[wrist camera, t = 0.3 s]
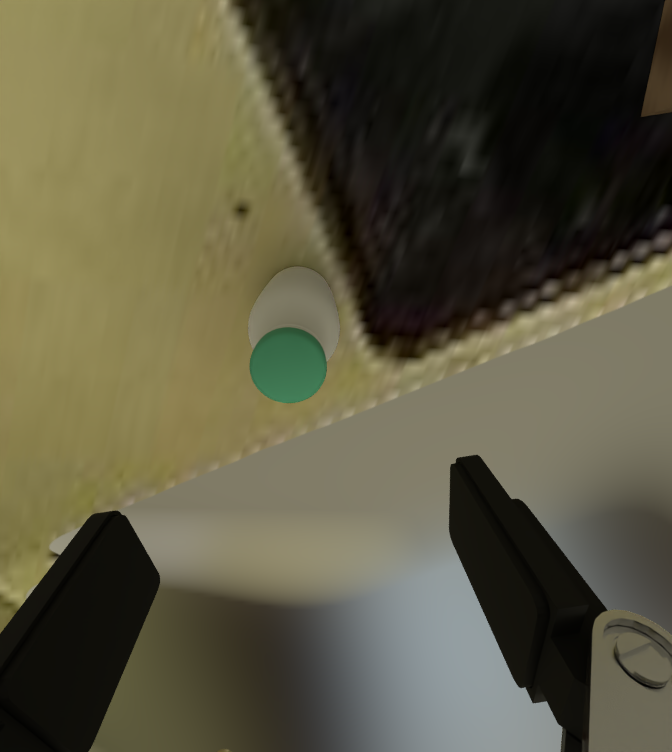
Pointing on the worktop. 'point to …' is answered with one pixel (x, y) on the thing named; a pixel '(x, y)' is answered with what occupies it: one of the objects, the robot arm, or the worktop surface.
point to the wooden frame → (661, 69)
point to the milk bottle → (293, 335)
